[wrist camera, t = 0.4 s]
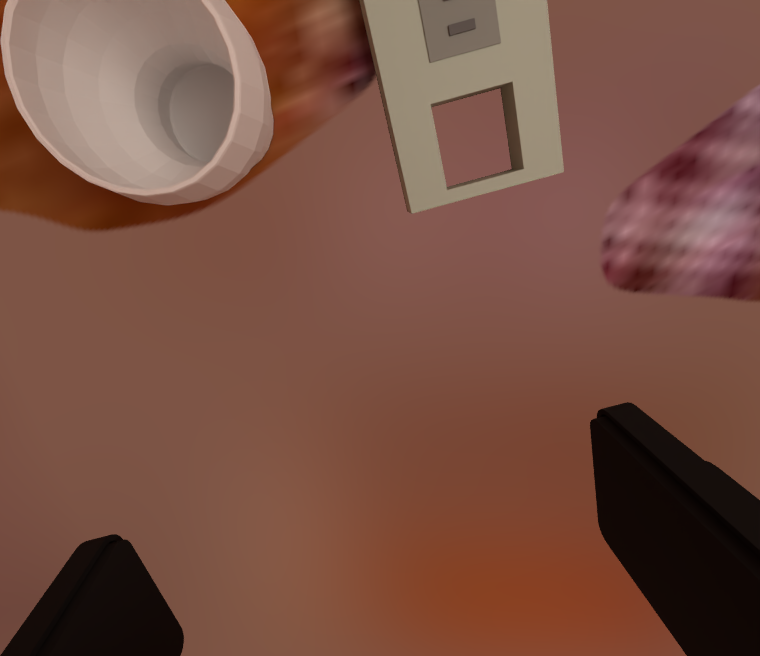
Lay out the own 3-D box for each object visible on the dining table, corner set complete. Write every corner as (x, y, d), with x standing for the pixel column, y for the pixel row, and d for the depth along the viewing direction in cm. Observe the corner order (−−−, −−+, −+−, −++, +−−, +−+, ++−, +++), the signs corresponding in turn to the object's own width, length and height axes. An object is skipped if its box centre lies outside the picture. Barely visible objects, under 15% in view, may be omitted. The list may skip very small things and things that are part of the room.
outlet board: (354, -20, 30) (355, -39, 27) (522, -68, 30) (540, -91, 27) (407, 211, 35) (412, 214, 33) (549, 172, 35) (566, 172, 33)
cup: (206, 219, 34) (111, 252, 20) (113, 88, 31) (-80, 16, 17) (320, 149, 33) (302, 131, 19) (237, 4, 30) (141, -148, 16)
